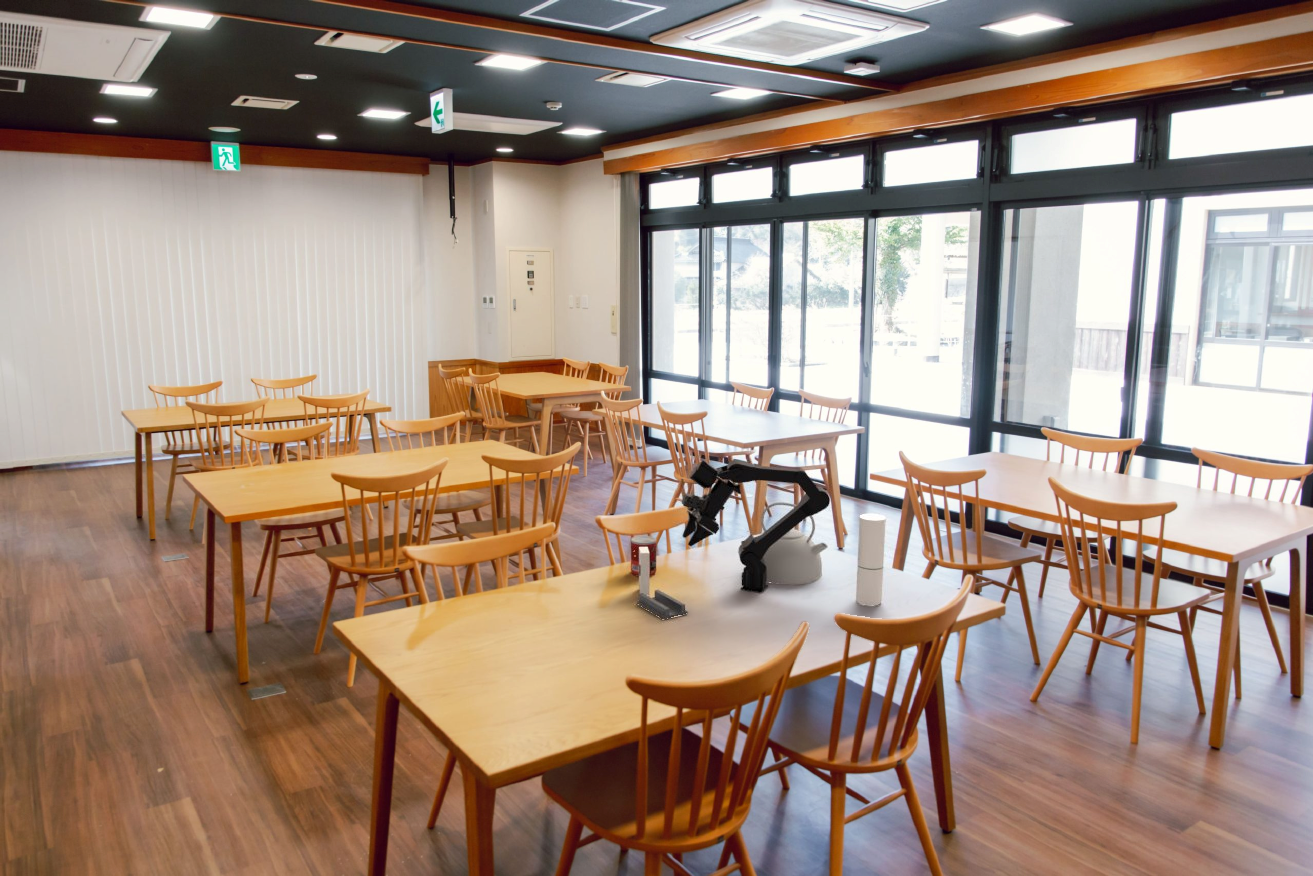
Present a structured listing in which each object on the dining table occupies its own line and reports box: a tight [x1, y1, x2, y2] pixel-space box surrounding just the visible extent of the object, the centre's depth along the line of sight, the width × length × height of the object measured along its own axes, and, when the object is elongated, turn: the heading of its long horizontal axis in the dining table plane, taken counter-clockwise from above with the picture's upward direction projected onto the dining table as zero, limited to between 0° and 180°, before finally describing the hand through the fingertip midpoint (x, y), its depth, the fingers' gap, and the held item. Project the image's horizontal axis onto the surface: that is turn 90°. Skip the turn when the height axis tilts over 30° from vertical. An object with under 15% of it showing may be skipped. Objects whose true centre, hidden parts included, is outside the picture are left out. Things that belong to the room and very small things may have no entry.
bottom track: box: [636, 589, 689, 620], centre depth 250 cm, size 8×14×3 cm, turn 32°
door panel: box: [638, 547, 650, 596], centre depth 262 cm, size 3×6×13 cm, turn 6°
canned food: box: [630, 535, 657, 577], centre depth 280 cm, size 8×8×11 cm
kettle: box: [760, 501, 829, 586], centre depth 279 cm, size 25×23×23 cm
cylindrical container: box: [855, 513, 887, 605], centre depth 254 cm, size 7×7×25 cm
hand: (686, 541), depth 262 cm, fingers open, 9 cm apart
